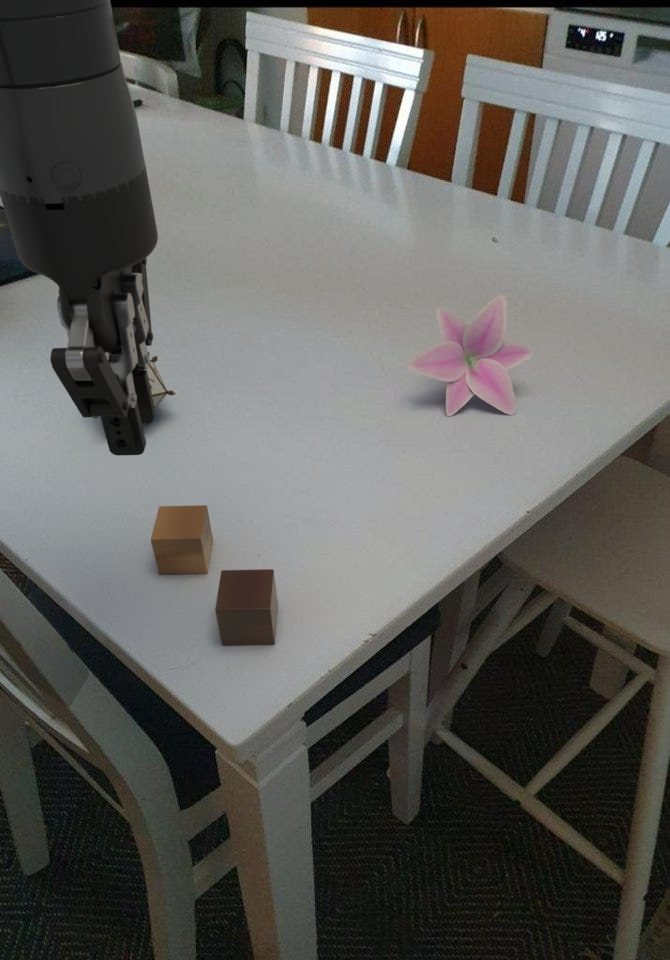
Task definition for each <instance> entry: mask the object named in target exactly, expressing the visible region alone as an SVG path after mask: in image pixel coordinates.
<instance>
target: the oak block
mask: <svg viewBox="0 0 670 960" xmlns="http://www.w3.org/2000/svg"><path fill="white" fill-rule="evenodd" d="M150 543H151V546H152V551H153V554H154V559H155V562H156V567H157V570H158V575H194V574H197V575H198V574H199V575H200V574H202V575H203V574H208V572H209V566H210V560H211V555H212V550H213V543H214V537H213V531H212V526H211V520H210V515H209V510H208V505H207V504H205V505H204V504H203V505H200V504H199V505H160V506H158V510H157V514H156V518H155V522H154V525H153V529H152V533H151V536H150Z"/></svg>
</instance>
